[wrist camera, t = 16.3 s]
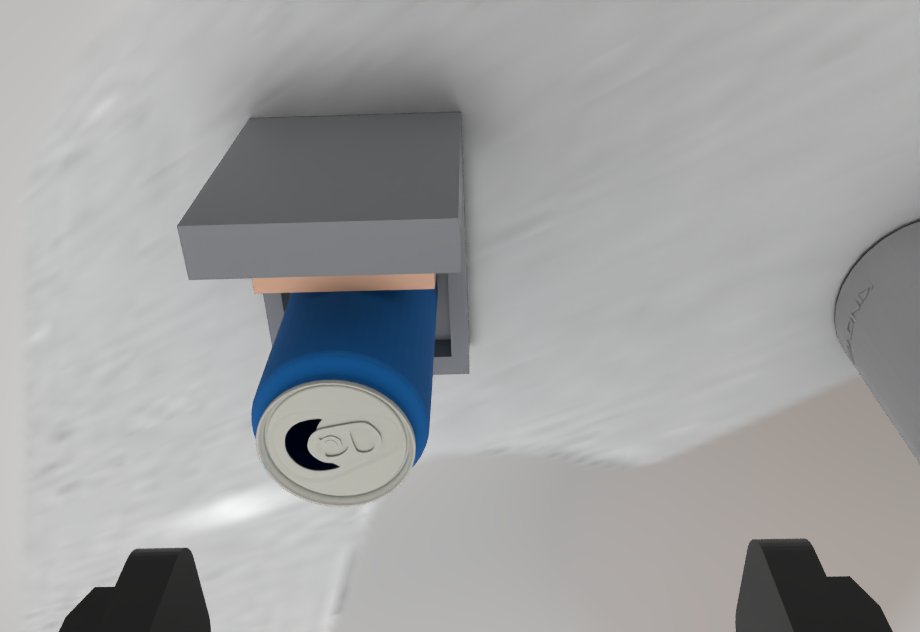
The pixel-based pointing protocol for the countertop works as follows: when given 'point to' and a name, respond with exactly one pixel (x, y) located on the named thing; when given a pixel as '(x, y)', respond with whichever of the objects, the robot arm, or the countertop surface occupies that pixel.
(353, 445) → the beverage can
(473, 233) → the countertop surface
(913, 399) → the robot arm
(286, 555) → the countertop surface
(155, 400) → the countertop surface
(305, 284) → the thin tan plate
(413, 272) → the grey bracket
